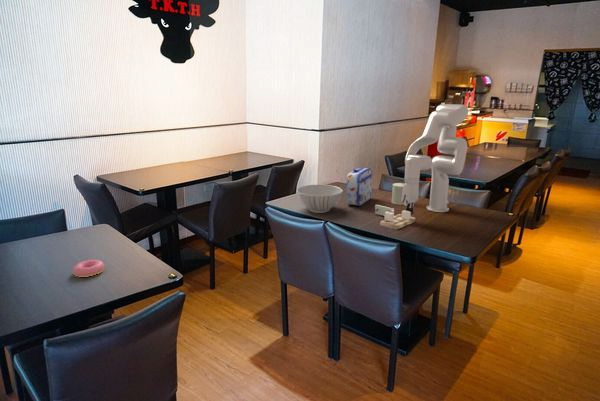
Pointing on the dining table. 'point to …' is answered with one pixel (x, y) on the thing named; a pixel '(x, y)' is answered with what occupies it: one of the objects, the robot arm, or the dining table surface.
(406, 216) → the fader
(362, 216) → the dining table surface
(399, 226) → the console board
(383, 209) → the rack door
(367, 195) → the lunch box
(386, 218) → the fader
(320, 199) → the decorative bowl
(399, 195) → the can
